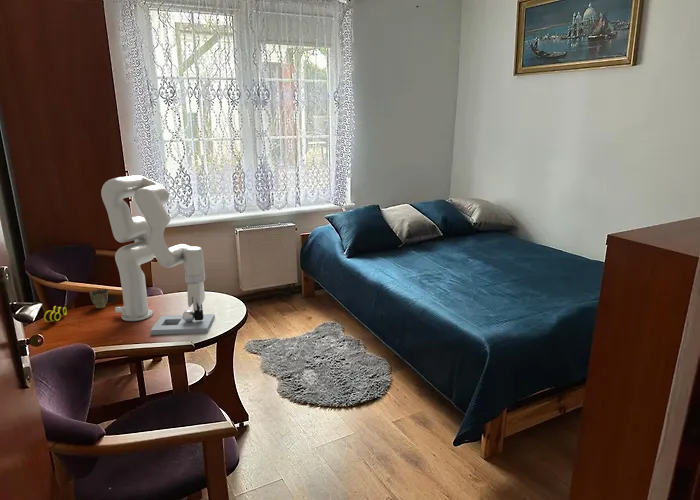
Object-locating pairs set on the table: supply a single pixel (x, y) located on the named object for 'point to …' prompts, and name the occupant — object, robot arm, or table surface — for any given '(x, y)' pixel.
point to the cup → (99, 298)
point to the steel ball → (188, 316)
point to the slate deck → (182, 325)
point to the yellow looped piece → (55, 314)
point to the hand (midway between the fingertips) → (199, 319)
